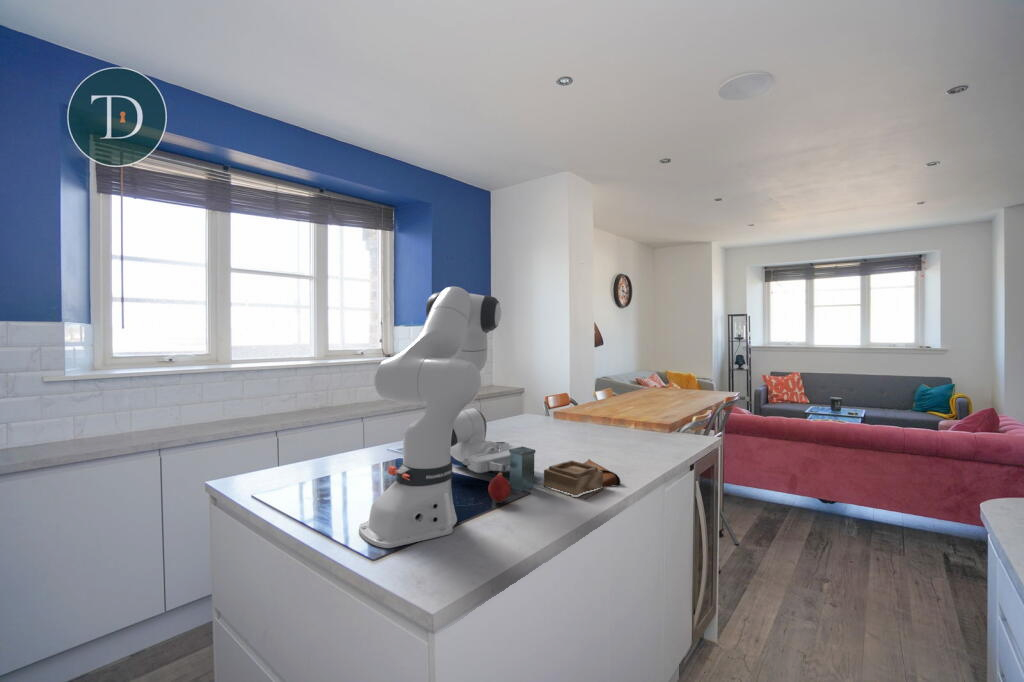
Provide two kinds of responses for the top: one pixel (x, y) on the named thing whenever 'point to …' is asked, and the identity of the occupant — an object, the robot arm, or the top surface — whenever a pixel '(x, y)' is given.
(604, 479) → the sunglasses case
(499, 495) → the onion
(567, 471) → the walnut stand
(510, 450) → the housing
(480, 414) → the robot arm
